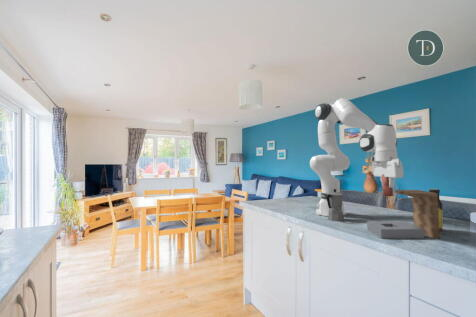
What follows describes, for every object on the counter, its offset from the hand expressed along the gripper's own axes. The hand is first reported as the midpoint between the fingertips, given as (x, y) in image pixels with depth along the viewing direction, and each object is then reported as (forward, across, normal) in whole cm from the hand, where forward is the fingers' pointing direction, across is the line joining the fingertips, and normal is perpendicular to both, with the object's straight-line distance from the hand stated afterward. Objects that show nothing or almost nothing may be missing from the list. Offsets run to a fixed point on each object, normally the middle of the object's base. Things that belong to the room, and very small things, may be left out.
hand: (387, 186), depth 114 cm
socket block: (+22, 0, -2) cm, 22 cm away
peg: (+4, 0, 0) cm, 4 cm away
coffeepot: (+22, +30, +16) cm, 40 cm away
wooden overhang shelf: (+22, 0, -12) cm, 25 cm away
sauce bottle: (+22, +6, -24) cm, 33 cm away
